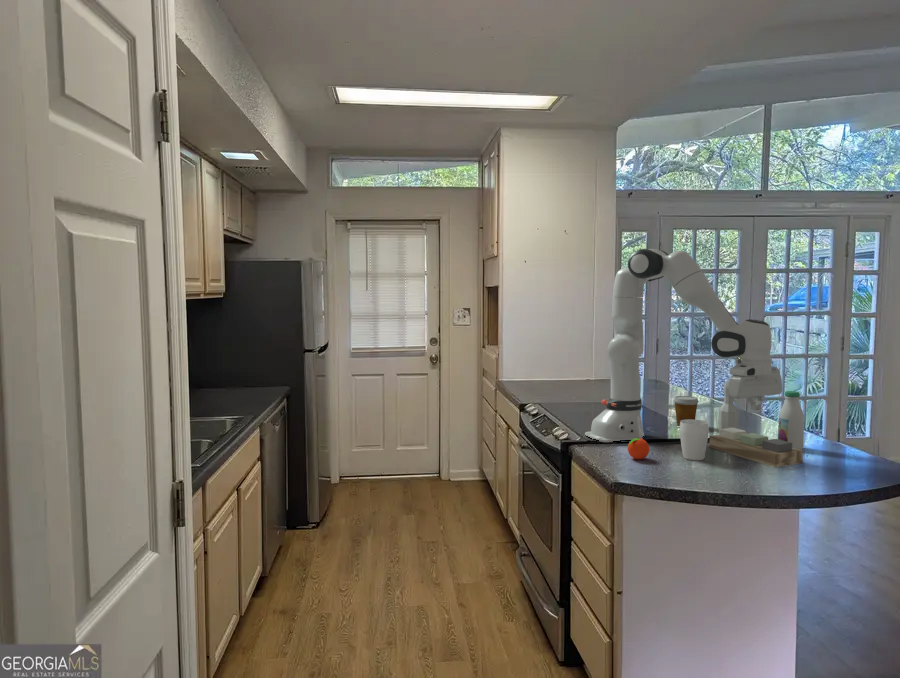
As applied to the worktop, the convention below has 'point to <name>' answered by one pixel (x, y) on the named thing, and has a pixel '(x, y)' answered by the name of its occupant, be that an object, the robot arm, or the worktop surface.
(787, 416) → the milk bottle
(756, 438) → the sage green key
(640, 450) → the clementine
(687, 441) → the cup
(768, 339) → the robot arm
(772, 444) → the charcoal key
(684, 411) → the disposable coffee cup
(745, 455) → the oak key console
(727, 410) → the faceted bottle
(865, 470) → the worktop surface
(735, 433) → the off-white key
